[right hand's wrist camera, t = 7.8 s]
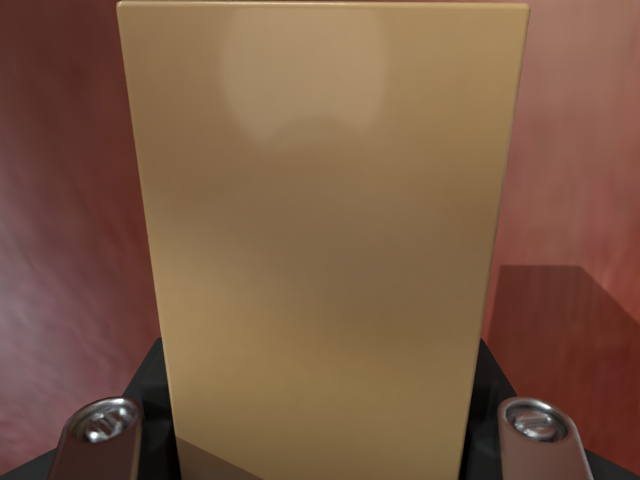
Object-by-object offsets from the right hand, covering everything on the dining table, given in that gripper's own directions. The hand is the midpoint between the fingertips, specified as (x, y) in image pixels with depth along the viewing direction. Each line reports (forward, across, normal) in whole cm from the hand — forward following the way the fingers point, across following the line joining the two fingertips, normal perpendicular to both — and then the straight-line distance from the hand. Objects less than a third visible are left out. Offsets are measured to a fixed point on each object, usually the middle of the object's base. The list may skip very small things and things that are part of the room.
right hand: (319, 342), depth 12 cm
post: (+2, 0, -21) cm, 21 cm away
